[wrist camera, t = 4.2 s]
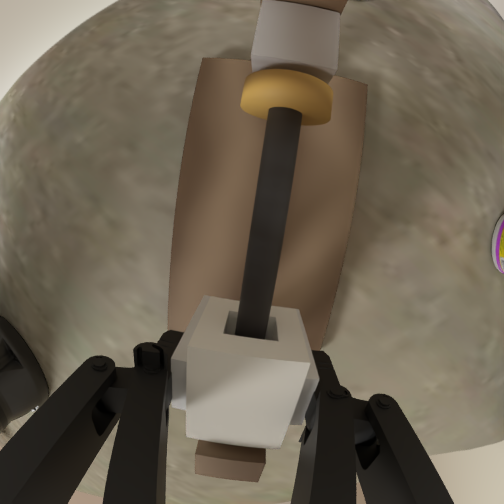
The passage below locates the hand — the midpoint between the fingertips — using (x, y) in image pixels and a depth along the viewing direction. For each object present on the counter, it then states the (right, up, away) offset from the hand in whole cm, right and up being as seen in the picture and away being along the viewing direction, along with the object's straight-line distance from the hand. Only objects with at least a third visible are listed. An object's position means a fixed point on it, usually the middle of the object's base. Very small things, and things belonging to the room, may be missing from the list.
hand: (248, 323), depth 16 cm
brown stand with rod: (+1, +7, +4) cm, 8 cm away
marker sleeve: (0, -1, -3) cm, 3 cm away
